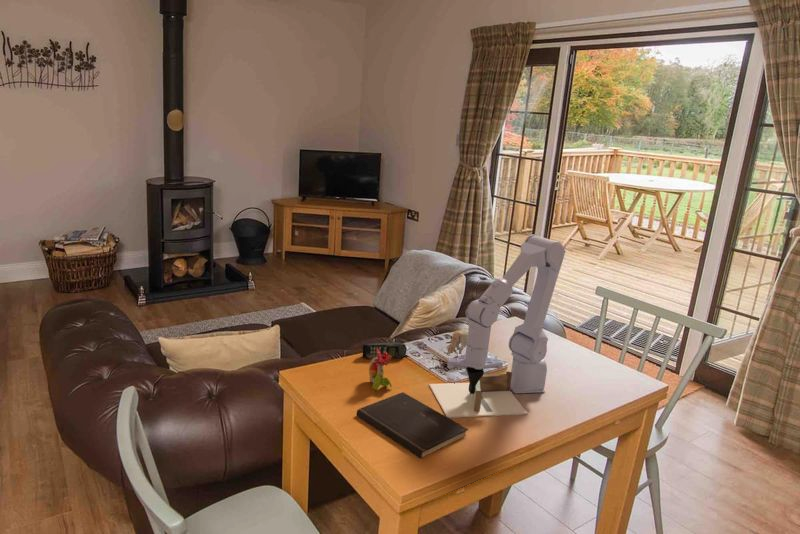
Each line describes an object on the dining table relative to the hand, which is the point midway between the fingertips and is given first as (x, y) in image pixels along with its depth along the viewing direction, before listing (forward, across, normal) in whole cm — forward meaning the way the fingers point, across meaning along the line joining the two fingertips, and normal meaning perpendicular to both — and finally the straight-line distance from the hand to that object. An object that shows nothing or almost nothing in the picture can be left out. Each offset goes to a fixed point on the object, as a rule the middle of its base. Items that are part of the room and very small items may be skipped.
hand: (471, 392), depth 156 cm
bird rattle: (+3, -25, +9) cm, 27 cm away
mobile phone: (+3, -20, +28) cm, 35 cm away
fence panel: (+2, +1, -1) cm, 3 cm away
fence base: (+2, +7, +6) cm, 10 cm away
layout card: (+3, +2, +1) cm, 4 cm away
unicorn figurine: (+3, +6, +32) cm, 33 cm away
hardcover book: (+4, -18, -12) cm, 22 cm away
